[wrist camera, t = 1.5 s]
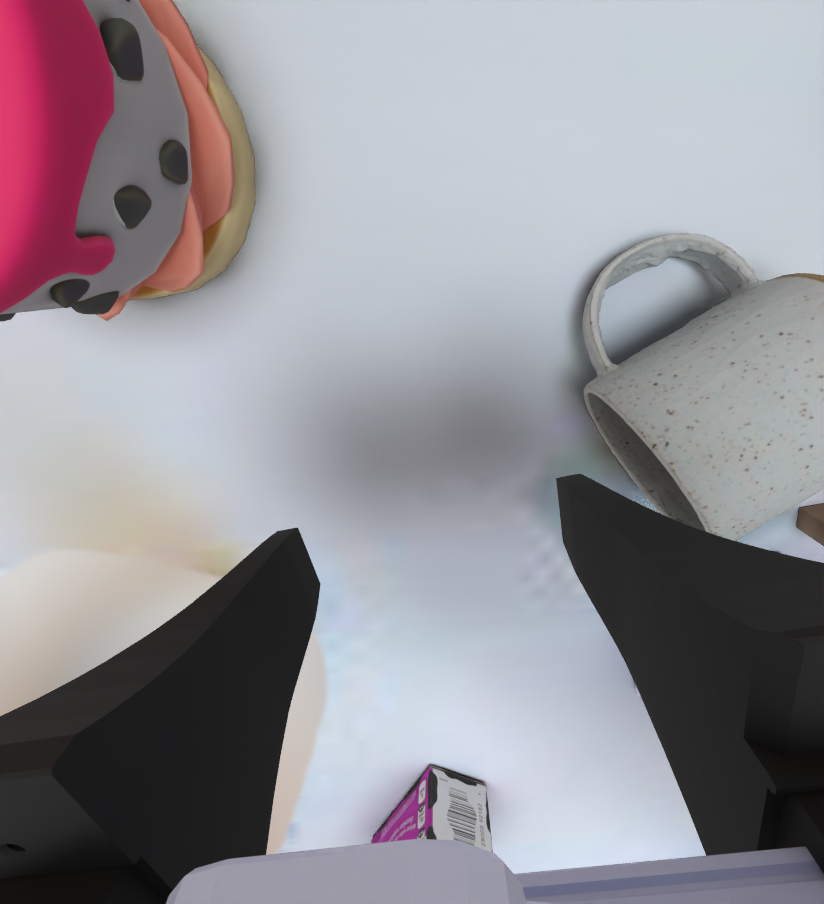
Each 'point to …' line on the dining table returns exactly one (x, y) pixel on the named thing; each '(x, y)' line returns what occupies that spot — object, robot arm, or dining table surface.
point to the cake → (114, 157)
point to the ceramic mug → (717, 393)
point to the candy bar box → (441, 811)
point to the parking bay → (812, 522)
